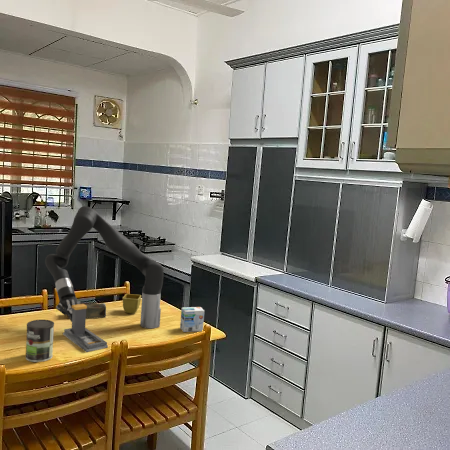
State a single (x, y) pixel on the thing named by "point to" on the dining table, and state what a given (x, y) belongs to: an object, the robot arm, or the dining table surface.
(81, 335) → the fader console
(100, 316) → the beverage carton
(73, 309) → the fader tab
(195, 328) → the light bulb box
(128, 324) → the dining table surface
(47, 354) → the coffee can
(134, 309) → the flower pot
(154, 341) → the dining table surface
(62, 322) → the dining table surface
